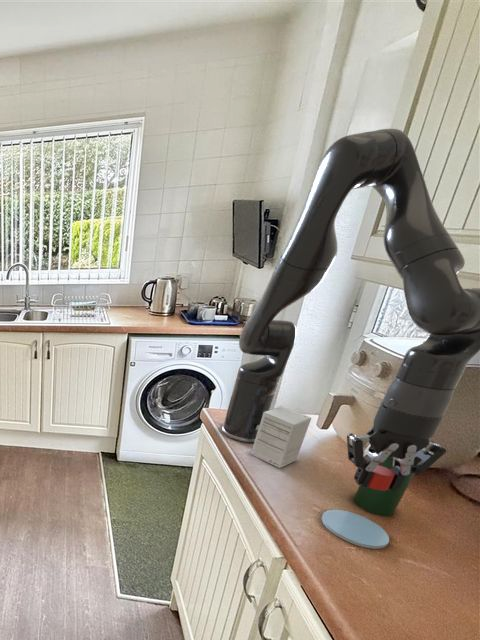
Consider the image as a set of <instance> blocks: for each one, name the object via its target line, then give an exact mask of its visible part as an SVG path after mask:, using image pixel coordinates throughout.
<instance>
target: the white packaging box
mask: <svg viewBox="0 0 480 640" xmlns="http://www.w3.org/2000/svg"><path fill="white" fill-rule="evenodd" d="M311 421H312V417H311V416H308V415H306V414H303V413H300V412H297V411H296V410H291V409H289V408H287V407H284V406H280V405H279V406H277V407H274V408H272V409H271V408H270V410H269V411H266V412H264V413H263V416H262V420H261V423H260V426H259V429H258V432H257V435H256V439H255V442H253V446H252V448H251V452H250V454H251V455H252V456H254V457H256V458H257V459H260V460H262V461H264V462H265V463H268V464H270V465H272V466H274V467H276V468H278V469H281V468H283V467H285V466H288V465H290V464H291V463H293V462H296V461H297V459H298V456H299V453H300V450H301V449H302V445H303V443H304V440H305V437H306V434H307V432H308V429H309V427H310V424H311Z"/></svg>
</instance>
